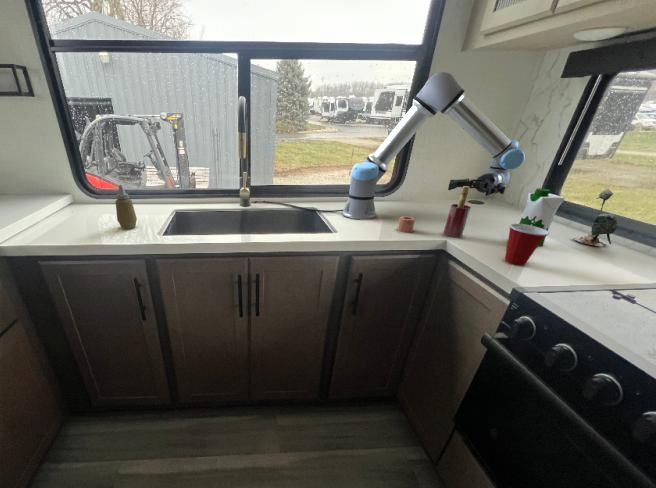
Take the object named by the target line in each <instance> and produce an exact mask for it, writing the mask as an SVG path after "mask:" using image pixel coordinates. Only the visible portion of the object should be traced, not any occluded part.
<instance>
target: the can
mask: <svg viewBox="0 0 656 488" xmlns="http://www.w3.org/2000/svg"><path fill="white" fill-rule="evenodd" d="M457 206H458V203H454V204H453V203H452V204H450V207H449V211H448V213H447V217H446V222H445V225H444V228H443V232H442V235H443V236H444V237H448V238H454V239H455V238H457V239H461V238H462V236H463V234H464V230H465V227H466V224H467V222H468V217H469V214H470V211H471V207H472V206H470V205H467V204H465V205H464V208H457Z"/></svg>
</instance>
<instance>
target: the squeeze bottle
mask: <svg viewBox="0 0 656 488" xmlns="http://www.w3.org/2000/svg"><path fill="white" fill-rule="evenodd" d="M114 201H115V211H116V220H117V222H118V224H119V226H120V228H121V229H123V230H131V229H134V228H136V227H137V220H138V218H137V215H136V214H137V213H136V211H135V207H134V204H133V201H132V199H131V198H129V194H128V193H127V192H126V191H125V188H124V187H123V185H122V184H119V185H118V193H117V194H116V200H114Z"/></svg>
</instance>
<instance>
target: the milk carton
mask: <svg viewBox="0 0 656 488" xmlns="http://www.w3.org/2000/svg"><path fill="white" fill-rule="evenodd" d="M550 192H551V189H548V188H541V187H539V188H538V187H537V188H535V190H534V192H529V193H528V194H527V199H526V205H525V208H524V210H523V213H522V216H521V218H520V220H519V223H518V224H525V225H530V226H535V227H538V228H542V229H544V230H546V231H548V232H549V229H550V227H551V225H552V223H553V221H554V218H555V216H556V213H557V211H558V209H559V208H560V206H561V205H562V203H563V202H564V201H565V199H566V197H564V196H560V195H557V194H553V193H550ZM546 237H547V236H546ZM546 237H545V238H544V239H543V240H542V241H541V242H540V244H539V245H538V246H537V247H543V246H544V244H545V240H546Z"/></svg>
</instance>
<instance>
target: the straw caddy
mask: <svg viewBox="0 0 656 488" xmlns="http://www.w3.org/2000/svg"><path fill="white" fill-rule="evenodd" d="M415 223H416V217H413V216H408V215H404V216H400V217H399V220H398V225H397V231H399V232H401V233H412V232H414V226H415Z"/></svg>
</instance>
